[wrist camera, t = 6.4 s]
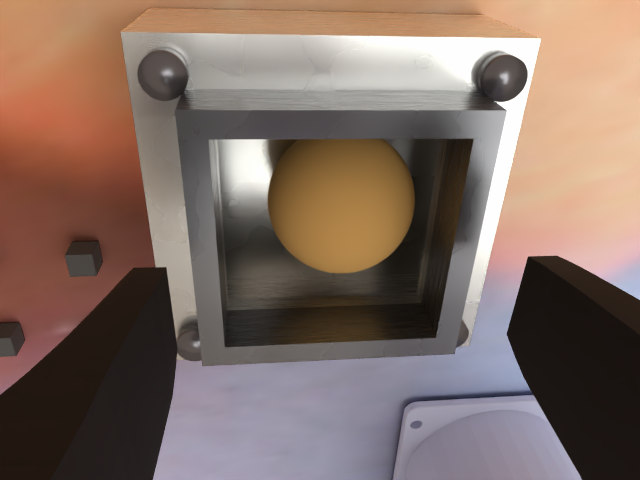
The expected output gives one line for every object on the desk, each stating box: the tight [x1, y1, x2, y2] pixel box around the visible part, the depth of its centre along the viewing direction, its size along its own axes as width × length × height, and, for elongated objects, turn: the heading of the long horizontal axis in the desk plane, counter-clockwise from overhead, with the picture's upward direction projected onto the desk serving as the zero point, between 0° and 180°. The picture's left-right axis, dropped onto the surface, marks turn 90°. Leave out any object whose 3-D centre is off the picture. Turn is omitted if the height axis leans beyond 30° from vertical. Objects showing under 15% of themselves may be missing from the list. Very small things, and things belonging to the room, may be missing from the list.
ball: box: [267, 139, 415, 273], centre depth 15 cm, size 4×4×4 cm
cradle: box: [0, 241, 103, 357], centre depth 18 cm, size 4×4×1 cm
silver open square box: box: [121, 8, 541, 366], centre depth 14 cm, size 9×9×5 cm
